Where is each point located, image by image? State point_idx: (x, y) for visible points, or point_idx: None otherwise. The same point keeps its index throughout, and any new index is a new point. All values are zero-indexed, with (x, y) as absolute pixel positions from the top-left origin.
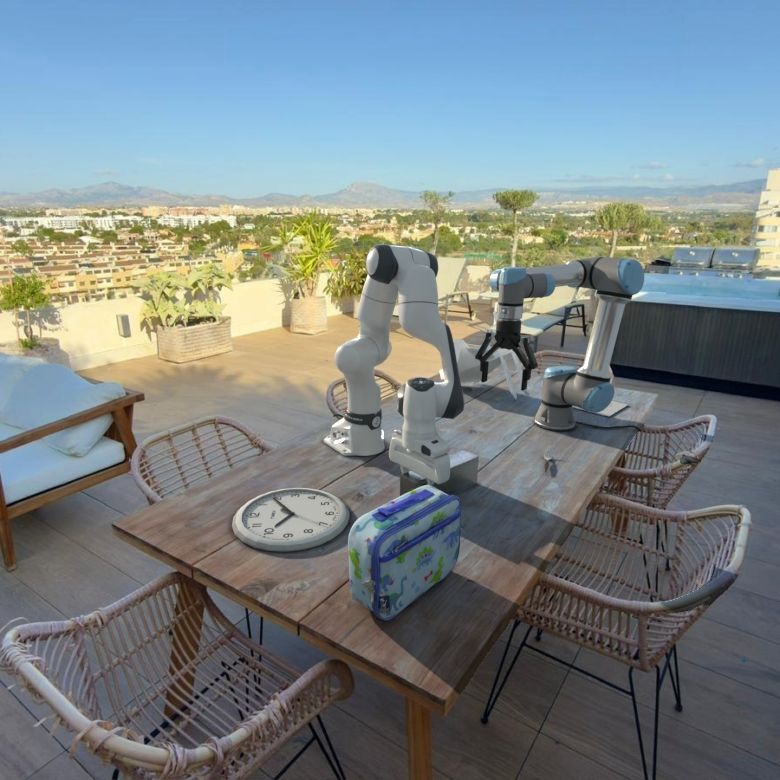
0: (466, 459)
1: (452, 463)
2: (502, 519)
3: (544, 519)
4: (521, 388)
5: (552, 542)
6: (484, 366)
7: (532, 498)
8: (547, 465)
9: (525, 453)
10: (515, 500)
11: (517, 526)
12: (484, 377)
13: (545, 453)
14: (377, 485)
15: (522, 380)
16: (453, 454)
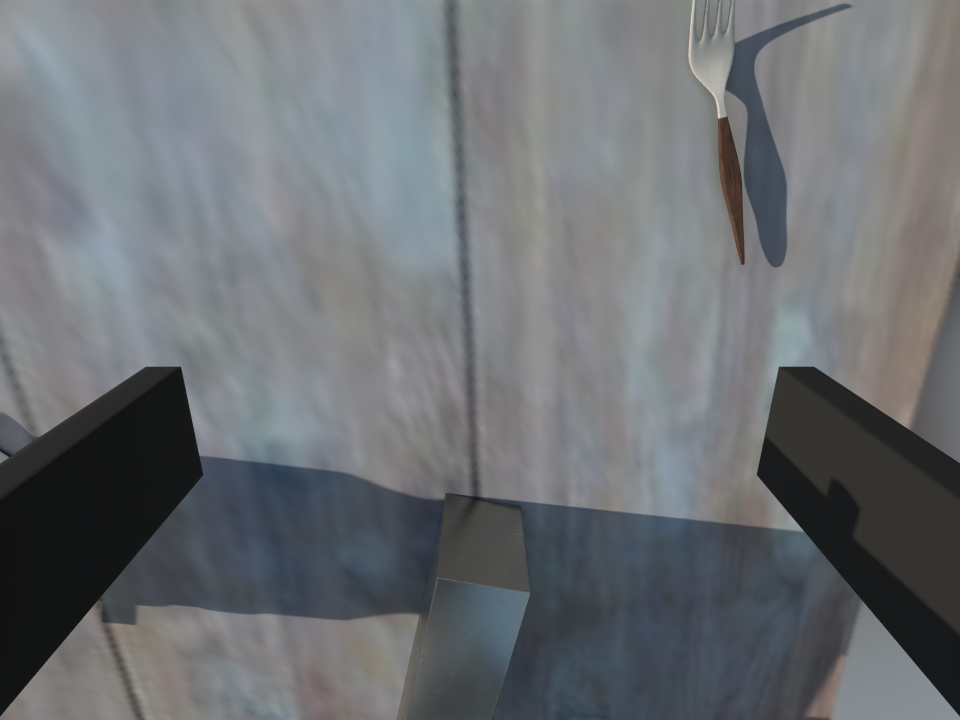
0: (501, 644)
1: (474, 698)
2: (686, 637)
3: (803, 573)
4: (775, 489)
5: (845, 655)
6: (26, 679)
7: (737, 482)
8: (738, 185)
9: (576, 68)
10: (686, 526)
11: (737, 643)
12: (161, 495)
13: (694, 29)
14: (263, 685)
15: (850, 571)
16: (428, 636)
